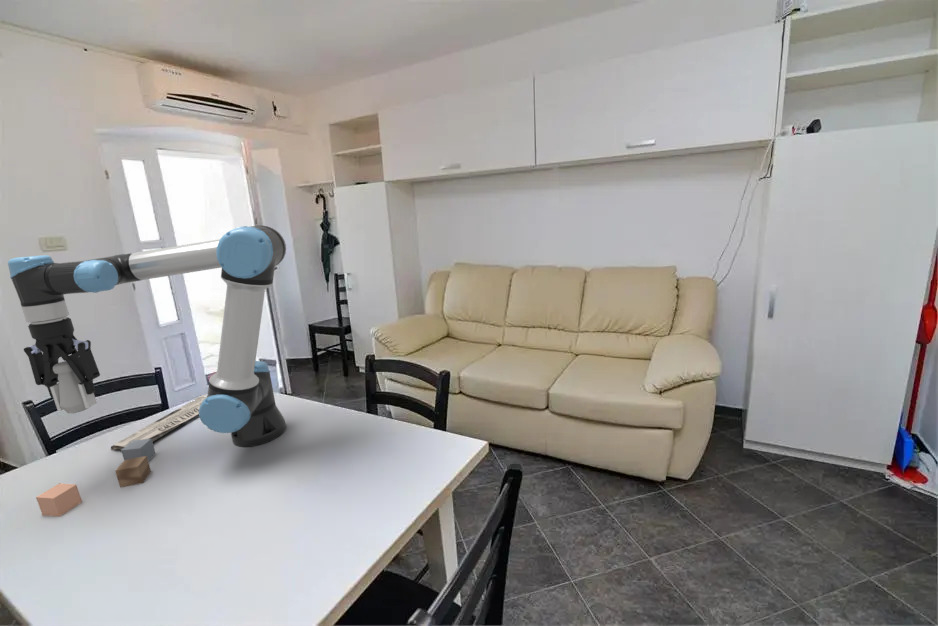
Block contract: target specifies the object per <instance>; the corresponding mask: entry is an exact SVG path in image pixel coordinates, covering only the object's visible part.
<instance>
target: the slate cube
mask: <svg viewBox="0 0 938 626" xmlns="http://www.w3.org/2000/svg"><path fill="white" fill-rule="evenodd" d="M120 451H121V455H122V458H123V461H124V460H127V459H132V458H138V457H143V456H147V459H148V461H150V460H151V459H152V457H154V456H156V454H157V453H156V449H155V446H154V441H153V442H152V439H143V440H134V441H132V442H131V443H129V444H128V445H127V446H126V447H124V448H123V449H120Z"/></svg>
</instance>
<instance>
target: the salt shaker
mask: <svg viewBox="0 0 938 626" xmlns="http://www.w3.org/2000/svg"><path fill="white" fill-rule="evenodd" d="M53 371H54V373H55V374H58V380H59V382H58V383H59V395H60V406H61V408H62V409H63V410H62V411H65V413H67V414H73V415H74V414H77V413H81V412H84V411H86V410H88V409H89V408H85V405H84V402H83V399H82V396H81V393H80V389H79V386H78V384H79V383H80V382H81V381H80V380H79V379H78V377H77V376H76V374H75V373H74V371H73V370H72V369H71V367H70V366H69V364H68V363H67V361H64V360H63V361H60V362H58V363H57V364H55V365H54V366H53Z"/></svg>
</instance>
